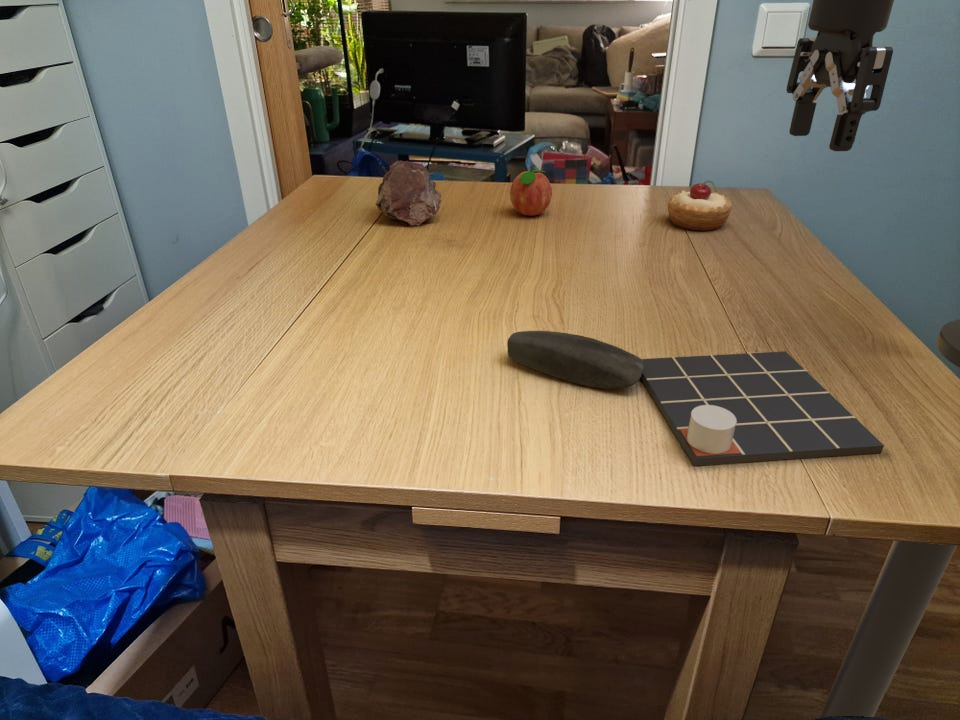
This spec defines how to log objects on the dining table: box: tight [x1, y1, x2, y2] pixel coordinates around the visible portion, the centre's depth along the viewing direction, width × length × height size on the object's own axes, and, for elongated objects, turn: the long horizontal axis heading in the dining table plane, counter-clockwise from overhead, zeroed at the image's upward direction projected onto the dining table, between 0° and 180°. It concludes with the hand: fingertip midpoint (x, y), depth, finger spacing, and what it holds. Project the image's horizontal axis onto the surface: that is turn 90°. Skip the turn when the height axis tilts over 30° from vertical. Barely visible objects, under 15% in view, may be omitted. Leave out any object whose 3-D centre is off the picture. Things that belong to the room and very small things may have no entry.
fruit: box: [509, 164, 553, 216], centre depth 136 cm, size 9×10×10 cm
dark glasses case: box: [506, 330, 644, 390], centre depth 81 cm, size 17×6×4 cm, turn 67°
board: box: [640, 350, 885, 467], centre depth 75 cm, size 20×20×1 cm
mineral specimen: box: [374, 160, 442, 227], centre depth 134 cm, size 12×13×15 cm
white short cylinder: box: [687, 405, 737, 454], centre depth 67 cm, size 4×4×3 cm
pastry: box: [667, 180, 733, 232], centre depth 131 cm, size 12×12×9 cm
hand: (818, 142), depth 76 cm, fingers open, 8 cm apart
